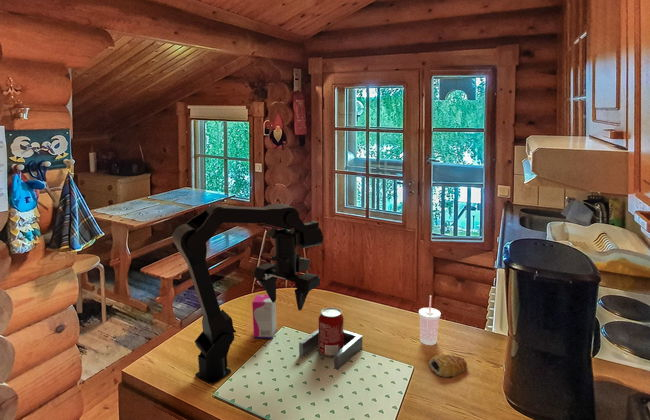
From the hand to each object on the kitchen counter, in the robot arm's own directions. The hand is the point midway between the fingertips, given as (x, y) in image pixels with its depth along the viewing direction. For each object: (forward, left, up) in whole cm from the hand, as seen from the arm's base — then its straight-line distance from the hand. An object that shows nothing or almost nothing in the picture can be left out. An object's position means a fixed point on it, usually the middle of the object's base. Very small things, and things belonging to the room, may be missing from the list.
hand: (286, 305), depth 120 cm
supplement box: (+3, +11, -13) cm, 17 cm away
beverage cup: (+26, -31, -13) cm, 43 cm away
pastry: (+15, -40, -14) cm, 45 cm away
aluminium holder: (+6, -11, -13) cm, 18 cm away
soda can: (+5, -11, -13) cm, 18 cm away
